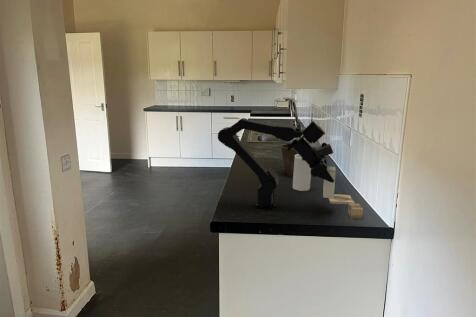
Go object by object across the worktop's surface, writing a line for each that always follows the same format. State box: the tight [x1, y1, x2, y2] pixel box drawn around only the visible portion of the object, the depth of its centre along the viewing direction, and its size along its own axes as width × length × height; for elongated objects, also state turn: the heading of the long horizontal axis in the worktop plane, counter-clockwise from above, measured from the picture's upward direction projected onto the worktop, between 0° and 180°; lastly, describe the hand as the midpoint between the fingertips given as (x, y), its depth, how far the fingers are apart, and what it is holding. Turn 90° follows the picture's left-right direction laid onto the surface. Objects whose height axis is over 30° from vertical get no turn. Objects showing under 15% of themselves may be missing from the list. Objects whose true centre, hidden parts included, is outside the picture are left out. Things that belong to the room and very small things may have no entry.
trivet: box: [327, 194, 356, 205], centre depth 154 cm, size 10×10×1 cm
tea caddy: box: [322, 166, 337, 199], centre depth 139 cm, size 4×6×11 cm
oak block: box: [347, 203, 364, 220], centre depth 137 cm, size 6×4×4 cm, turn 176°
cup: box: [292, 154, 312, 192], centre depth 169 cm, size 8×8×16 cm
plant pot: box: [280, 143, 298, 177], centre depth 192 cm, size 15×15×16 cm
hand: (332, 179), depth 139 cm, fingers closed on tea caddy, 5 cm apart
